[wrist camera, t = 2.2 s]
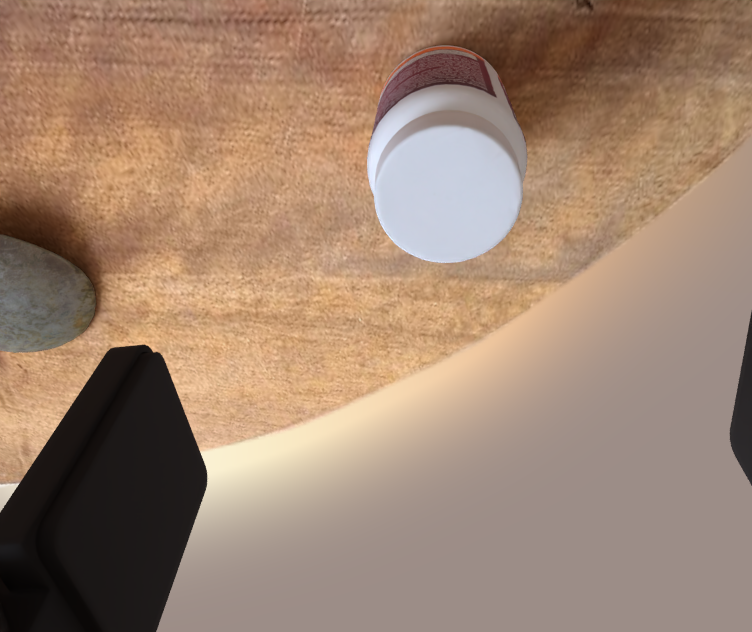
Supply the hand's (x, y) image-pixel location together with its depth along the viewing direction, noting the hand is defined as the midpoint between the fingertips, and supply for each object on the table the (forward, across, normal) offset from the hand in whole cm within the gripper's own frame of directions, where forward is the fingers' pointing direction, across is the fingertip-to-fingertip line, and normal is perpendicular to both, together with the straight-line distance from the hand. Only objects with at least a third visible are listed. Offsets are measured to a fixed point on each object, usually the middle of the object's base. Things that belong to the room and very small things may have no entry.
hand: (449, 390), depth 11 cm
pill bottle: (+17, 0, 0) cm, 17 cm away
